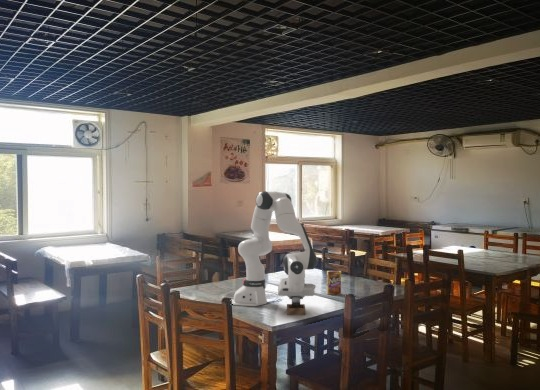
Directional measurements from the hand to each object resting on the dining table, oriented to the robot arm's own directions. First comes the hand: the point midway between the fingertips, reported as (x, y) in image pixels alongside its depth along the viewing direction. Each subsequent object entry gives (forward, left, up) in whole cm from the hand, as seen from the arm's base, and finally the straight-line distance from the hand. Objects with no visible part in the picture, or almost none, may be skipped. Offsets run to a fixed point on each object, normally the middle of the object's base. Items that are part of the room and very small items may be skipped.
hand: (295, 298), depth 263 cm
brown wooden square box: (0, -1, -8) cm, 8 cm away
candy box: (+26, +46, -8) cm, 54 cm away
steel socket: (0, -1, -4) cm, 4 cm away
